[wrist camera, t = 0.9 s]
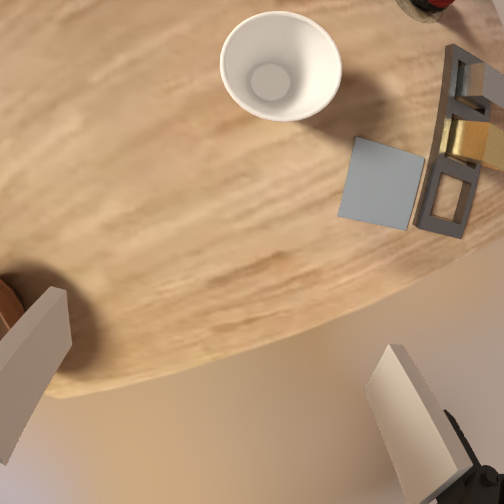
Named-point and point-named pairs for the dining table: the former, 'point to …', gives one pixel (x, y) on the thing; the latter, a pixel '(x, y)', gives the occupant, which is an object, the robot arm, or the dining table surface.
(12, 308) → the bowl
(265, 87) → the cup
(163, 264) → the dining table surface
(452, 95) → the grey block holder tray
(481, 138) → the block
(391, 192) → the mat
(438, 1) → the figurine
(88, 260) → the dining table surface
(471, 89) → the block
